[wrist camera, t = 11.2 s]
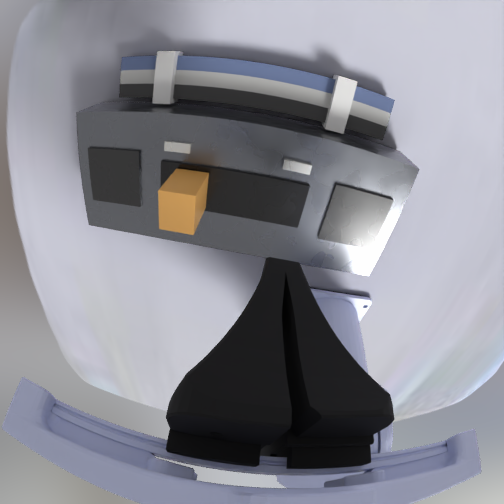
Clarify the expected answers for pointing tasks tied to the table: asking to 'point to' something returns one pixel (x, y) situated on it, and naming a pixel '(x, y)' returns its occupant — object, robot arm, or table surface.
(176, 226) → the lever
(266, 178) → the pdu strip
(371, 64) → the table surface
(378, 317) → the table surface
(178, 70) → the cords
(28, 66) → the table surface
